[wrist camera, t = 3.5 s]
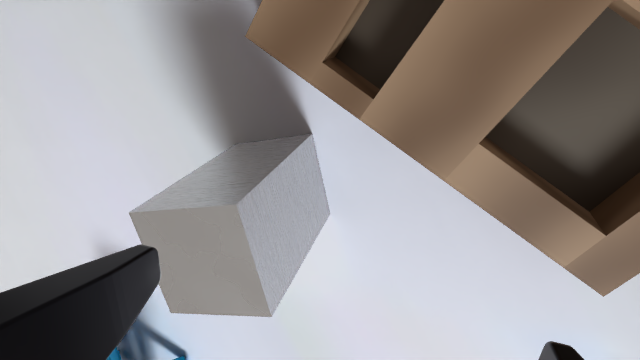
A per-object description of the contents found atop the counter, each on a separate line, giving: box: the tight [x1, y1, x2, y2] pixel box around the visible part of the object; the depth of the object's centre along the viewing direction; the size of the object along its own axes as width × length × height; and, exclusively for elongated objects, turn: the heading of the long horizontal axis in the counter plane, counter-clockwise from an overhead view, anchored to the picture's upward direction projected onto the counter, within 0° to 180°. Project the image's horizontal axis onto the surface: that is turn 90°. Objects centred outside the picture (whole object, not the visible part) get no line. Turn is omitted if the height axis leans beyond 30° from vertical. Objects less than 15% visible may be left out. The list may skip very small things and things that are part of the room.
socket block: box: [245, 0, 640, 297], centre depth 15 cm, size 18×10×2 cm, turn 58°
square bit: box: [129, 134, 330, 317], centre depth 17 cm, size 4×4×8 cm
